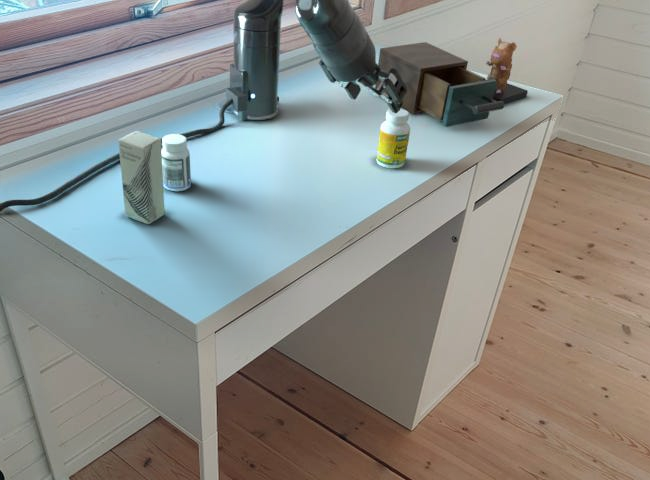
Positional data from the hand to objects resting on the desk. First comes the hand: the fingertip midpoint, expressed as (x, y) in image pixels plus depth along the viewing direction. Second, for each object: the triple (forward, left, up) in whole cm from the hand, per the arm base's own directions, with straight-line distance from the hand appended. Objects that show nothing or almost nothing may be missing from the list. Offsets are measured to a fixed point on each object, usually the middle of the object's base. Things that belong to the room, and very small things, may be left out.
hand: (376, 101), depth 115 cm
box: (-41, +2, -14) cm, 43 cm away
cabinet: (+32, +27, -13) cm, 44 cm away
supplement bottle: (+7, +2, -14) cm, 15 cm away
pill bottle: (-33, +10, -14) cm, 37 cm away
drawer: (+32, +14, -12) cm, 37 cm away
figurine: (+51, +22, -14) cm, 57 cm away
